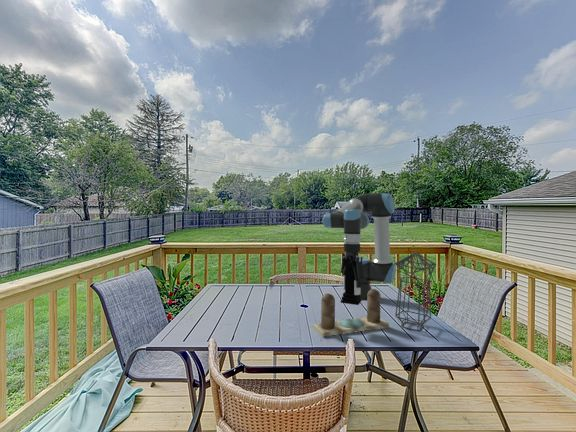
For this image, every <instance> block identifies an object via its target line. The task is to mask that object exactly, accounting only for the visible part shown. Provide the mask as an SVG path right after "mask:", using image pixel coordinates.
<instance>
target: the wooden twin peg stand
mask: <svg viewBox="0 0 576 432" xmlns="http://www.w3.org/2000/svg"><path fill="white" fill-rule="evenodd" d="M335 302H336V299H335V296H334V295H333V294H331V293H325V294H323V295H322V297H321V303H320V304H321V311H320V312H321V314H320V315H321V318H320V319H321V321H320V322H321V323H313V325H312V327H313V330H314V331H315V332H316V333H317V332H318V333H319V334H318V333H317V334H318V335H320V337H322V338H326V337H325V336H329V337H333V336H332V335H336V336H339V335H338V334H342V335H344V334H343V333H349V332H355V331H363V330H369V331H373V330H372V329H376V330H383V329H389V328H390V323H389V322H388V321H386V320H385V319H382V317H381V293H380V291H379V290H377V289H375V288H371V290H369V292H368V294H367V299H366V303H367V304H366V316H365V317H361V318H344V319H342V320H337V321H336V303H335ZM382 328H383V329H382ZM363 332H364V331H363ZM349 334H350V333H349Z"/></svg>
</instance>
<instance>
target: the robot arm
mask: <svg viewBox="0 0 576 432" xmlns="http://www.w3.org/2000/svg"><path fill="white" fill-rule="evenodd" d="M395 208H396V206H395V201H394V198H393V195H392V194H390V193H383V192H382V193H364V194H360V195H357V196H355V197H353V198H351V199H349V201H348V202H347V203H346V204H345V205H343V206H342V207H341V208H339V209H338V210H335V212H333V213H331V212H329V213H325V214H324V215H323V216H322V224H323V226H324V228H328V229H343V242H344V243H343V252H342V256H341V258H345V257H346V260H347V261H350V262H354V259H356V267H355V266H354V264H355V262H354V264H353V263H352V265H353V271H354V275H355V279H354V295H361V299H362V300H367V294H368V292H369V290H371V289H372V286H371V282H377V283H383V284H392V283H393V281H394V279H395V276H396V270H397V265H395V264H394V263H393V260H392V258H391V252H390V249H391V248H390V247H391V246H390V219H391V217H392V215H393V214H394V213H395V210H396V209H395ZM366 214H370V215H371V216H370V217H371V218H372V219H373V225H374V226H373V228H374V231H373V232H374V258H373V259H372V261H371V259H370V258H363V257H362V256H359V253H360V252H361V243H362V242H361V237H362V236H361V231H362V230H363V229H366V228H367V227H368V226H369V224H370V218H369V217H368V215H366ZM340 267H341V268H340V274H342V277H343V279H342V280H343V282H342V286H343V290H344V291H345V273H344V271H345V266H343V261H342V260H341V266H340Z"/></svg>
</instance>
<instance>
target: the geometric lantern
mask: <svg viewBox="0 0 576 432" xmlns="http://www.w3.org/2000/svg"><path fill="white" fill-rule="evenodd" d="M412 259H413V260H412ZM415 259H416V261H417V262H415ZM419 261H420V262H419ZM427 261H428V262H427ZM405 262H407V263H406V264H405ZM429 262H430V263H429ZM393 264H395V265H396V267H397V268H398V269H399V271H398V272H399V273H398V274H399V277H398V278H399V285H398V293H397V300H396V308H395V314H394V316H395V317H396V318H397V320H398V321H400V322H401V325H400V327H401V328H403V329H407V330H413V331H417V332H419V331H421V330H422V329H423V327H424V325H425V324H426V323H427V322H428V321H430V320H431V319H432V305H431V278H432V275H433V272H434V269H436V266H437V264H436V263H435V262H434V261H432V260H430V259H429V258H427V257H425V256H423V255H422V254H421V253H420V252H419V253H418V252H416V251H415V252H412V253H411V254H409V255H407V256H405V257H404V258H402V259H400V260H399V261H396V262H394V263H393ZM409 264H410V265H411V266H410V265H409ZM415 264H417V266H416V265H415ZM420 265H421V266H423V267H419V266H420ZM407 268H409V269H411V271H407ZM413 269H414V271H413ZM401 270H403V273H404V274H403V277H402V275H401ZM425 270H428V274H427V275H426V272H425ZM421 271H423V273H424V275H425V279H423V278H417V276H416V273H418V272H421ZM407 274H410V276H408V275H407ZM428 276H429V278H428ZM403 279H405V280H403ZM408 279H409V281H408ZM412 279H414V280H416V282H412ZM419 280H421V281H423V282H422V283H420V282H419ZM403 283H404V284H405V285H404V292H403V293H404V295H403V301H401V300H402V287H403V286H402V285H403ZM408 283H409V286H408V299H407V310H405V301H406V294H407V293H406V292H407V284H408ZM412 284H414V285H418V308H417V309H418V312H415V311H411V310H409V309H410V299H411V298H410V297H411V296H410V295H411V285H412ZM425 285H427V286H426V287H427V288H426V290H425ZM421 286H422V291H423V292H422V294H423V295H422V299H423V300H422V302H423V305H422V306H423V307H422V308H423V312H422V313H420V312H421V309H420V307H421ZM425 291H426V299H425ZM425 300H426V302H425ZM401 302H403V303H402V309H401ZM425 303H426V304H425ZM425 305H426V307H425ZM428 307H429V308H428ZM425 309H426V311H425ZM428 310H429V311H428ZM405 312H406V314H405ZM428 312H429V315H428ZM409 313H411V314H415V315H417V319H416V318H415V319H414V318H410V317H408V314H409ZM400 314H403V316H404V317H401V315H400ZM420 315H421V316H423V319H422V320H421V318H420V317H421V316H420ZM426 317H427V319H426ZM405 324H406V325H408V326H409V325H410V326H413V327H417V329H414V328H411V327H410V328H409V327H405Z"/></svg>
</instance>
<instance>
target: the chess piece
mask: <svg viewBox="0 0 576 432" xmlns="http://www.w3.org/2000/svg"><path fill="white" fill-rule="evenodd" d="M341 258H342V257H341ZM342 261H343V266H345V271H344V273H345V290H344V292H343V293H342V296H341V300H340V304H349V305H355V306H359V305H360V304H361V303H362V301H363V299H361V295H354V279H355V275H354V271H353V265H352V263H353V264H354V262H355V264H354V266H355V267H356V259H354V262H350V261H347V260H346V257H345V258H342V259H341V262H342Z"/></svg>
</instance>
